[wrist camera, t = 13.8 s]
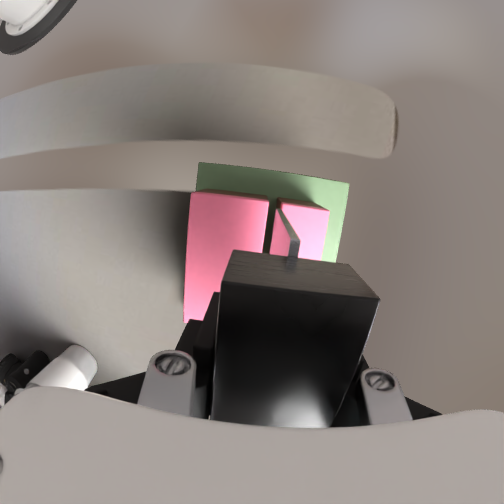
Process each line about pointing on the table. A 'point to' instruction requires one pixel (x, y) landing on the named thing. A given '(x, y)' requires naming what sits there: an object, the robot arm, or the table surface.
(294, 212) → the cake slice
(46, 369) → the cup
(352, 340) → the block
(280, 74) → the table surface
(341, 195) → the cake board
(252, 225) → the cake
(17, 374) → the camera
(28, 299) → the table surface
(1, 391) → the elephant figurine
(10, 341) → the table surface
